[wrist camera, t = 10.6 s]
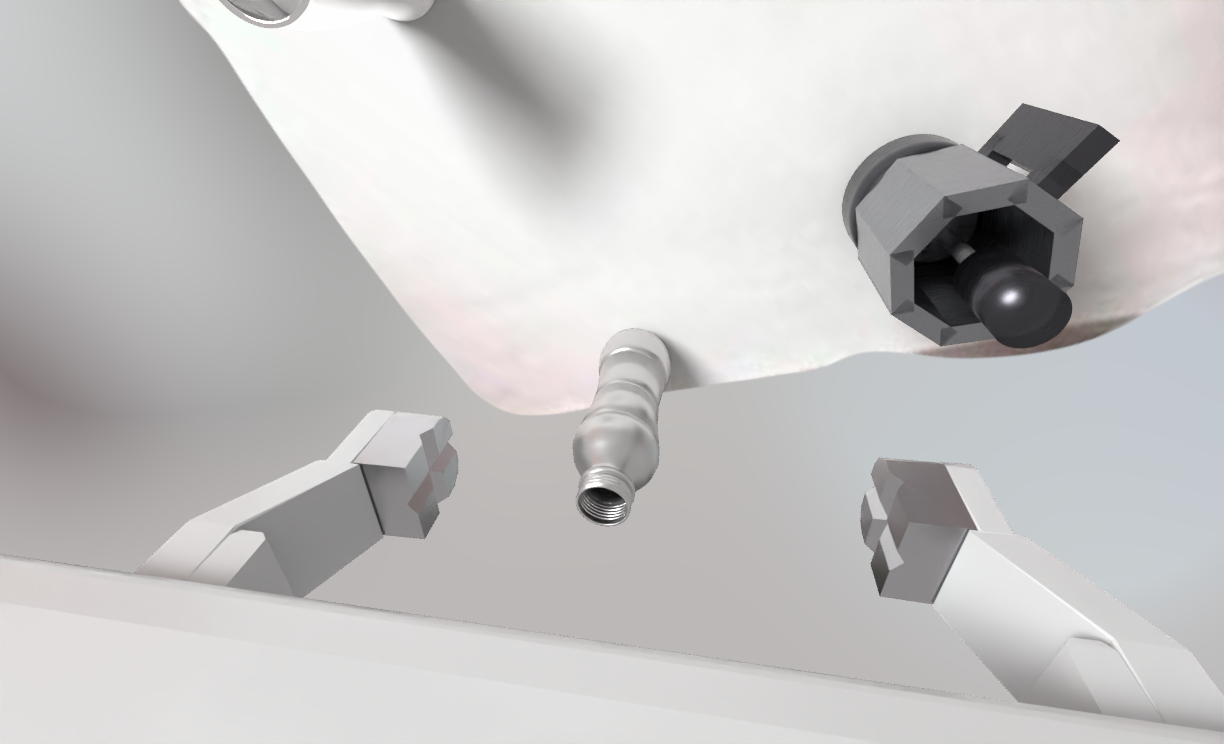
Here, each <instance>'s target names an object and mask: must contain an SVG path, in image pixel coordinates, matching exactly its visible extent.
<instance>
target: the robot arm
mask: <svg viewBox="0 0 1224 744" xmlns="http://www.w3.org/2000/svg"><path fill="white" fill-rule="evenodd" d="M452 434H453V433H452V429H451V425H450V421H449V420H448V419H447V418H445V417H440V416H432V415H423V414H415V413H406V412H395V411H385V410H374V411H371V412H369V413H368V414H367V415H366V416H365V417H364V419H363V420H362V421H361V422H360V423H359V424H358V425H357V426H356V427H355V429H354V430H353V431H352V432H351V433H350V434H349V436H348V437H347V438H346V439H345V440H344V441H343V442H342V443H341V444H340V445H339V447H338V448H337V449H336V450H335V451H334V452H333V453H332V454H331V455H330V457H329V458H328V459H327V460H326V461H325V460H317V461H315V462H313V463H311V464H309V465H307V466H305V467H302V468H300V469H298V470H296V471H294V472H292V473H290V474H287V475H285V476H283V477H281V478H279V479H277V480H275V481H273V482H270V483H268V484H266V485H264V486H262V487H260V488H258V489H256V490H254V491H251V492H249V493H247V494H245V495H243V496H241V497H238V498H236V499H234V500H232V501H230V502H228V503H226V504H223V505H221V506H219V507H217V508H215V509H213V510H211V511H209V512H206V513H204V514H202V515H200V516H198V517H196V518H193V519H191V520H189V521H188V522H187V523H186V524H185V525H184V526H183V527H182V528H180V529H179V530H178V532H176V533H175V534H174V535H173V536H172V537H171V538H170V539H169V540H168V541H167V542H166V543H165V544H164V545H163V546H161V547H160V548H159V549H158V550H157V551H156V552H155V553H154V554H153V555H152V556H151V557H150V558H149V559H148V560H147V561H146V562H145V563H144V564H143V565H141V566H140V567H139V568H138V569H137V570H136V571H135V572H134V573H129V572H121V571H115V570H108V569H101V568H94V567H88V566H80V565H73V564H67V563H60V562H53V561H46V560H39V559H32V558H25V557H19V556H12V555H5V554H0V744H1224V697H1223V695H1222V694H1221V692H1220V691H1219V690H1218V689H1217V687H1216V686H1215V684H1214V683H1213V682H1212V680H1211V679H1210V678H1209V676H1208V675H1207V674H1206V672H1205V671H1204V670H1203V668H1202V667H1201V666H1200V664H1199V663H1198V662H1197V660H1196V659H1195V658H1194V656H1193V655H1192V653H1191V652H1190V651H1189V650H1188V649H1186V648H1185V647H1183V646H1182V645H1180V644H1179V643H1178V642H1176V641H1175V640H1173V639H1172V638H1170V637H1169V636H1167V635H1166V634H1165V633H1163V632H1162V631H1160V630H1159V629H1157V628H1156V627H1155V626H1153V625H1152V624H1150V623H1149V622H1148V621H1146V620H1145V619H1143V618H1142V617H1140V616H1139V615H1138V614H1136V613H1135V612H1133V611H1132V610H1130V609H1129V608H1127V607H1126V606H1125V605H1123V604H1122V603H1120V602H1119V601H1117V600H1116V599H1115V598H1113V597H1112V596H1110V595H1109V594H1107V593H1106V592H1105V591H1103V590H1102V589H1100V588H1099V587H1097V586H1096V585H1095V584H1093V583H1092V582H1090V581H1089V580H1087V579H1086V578H1085V577H1083V576H1082V575H1080V574H1079V573H1077V572H1076V571H1074V570H1073V569H1072V568H1070V567H1069V566H1067V565H1066V564H1064V563H1063V562H1062V561H1060V560H1059V559H1057V558H1056V557H1054V556H1053V555H1052V554H1050V553H1049V552H1047V551H1046V550H1044V549H1043V548H1042V547H1040V546H1039V545H1037V544H1036V543H1034V542H1033V541H1032V540H1030V539H1028V538H1027V537H1026V536H1021V535H1015V534H1014V532H1013V530H1012V529H1011V527H1010V525H1009V524H1008V522H1007V520H1006V518H1005V517H1004V515H1003V513H1002V512H1001V510H1000V508H999V507H998V505H997V503H996V501H995V500H994V498H993V496H992V494H991V493H990V491H989V489H988V488H987V486H986V484H985V483H984V481H983V479H982V477H981V476H980V474H979V472H978V471H977V469H976V468H975V467H973V466H972V465H971V464H959V463H945V462H939V463H935V462H924V461H913V460H901V459H890V458H878V460H877V461H876V463H875V465H874V467H873V470H872V473H871V475H872V478H873V481H874V485H875V486H874V487H872V488H871V489H869V490H868V491H867V492H866V493H865V495H864V499H863V502H862V506H861V520H860V521H861V529H862V535H863V539H864V543H865V544H866V545H867V546H868V547H869V548H870V549H871V550H872V551H873V552H874V556H873V559H872V562H871V567H872V570H873V574H874V578H875V581H876V585H877V588H878V592H879V595H880V596H882V597H888V598H895V599H902V600H908V601H915V602H922V603H928V604H933V606H932V607H933V608H934V609H935V610H936V611H937V612H938V614H939V615H940V616H941V617H942V618H943V619H944V620H945V621H946V622H947V623H948V625H949V626H950V627H951V628H952V629H953V630H954V631H955V632H956V633H957V635H958V636H959V637H960V638H961V639H962V640H963V641H964V642H965V643H966V645H967V646H968V647H969V648H970V649H971V650H972V651H973V652H974V653H975V655H976V656H977V657H978V658H979V659H980V660H981V661H982V662H983V663H984V664H985V665H986V667H987V668H988V669H989V670H990V671H991V672H992V673H993V674H994V676H995V677H996V678H997V679H998V680H999V681H1000V682H1001V683H1002V684H1003V686H1004V687H1005V688H1006V689H1007V690H1008V691H1009V692H1010V693H1011V694H1012V696H1013V697H1014V698H1015V699H1016V700H1017V701H1018V702H1013V701H1006V700H999V699H992V698H985V697H979V696H971V695H965V694H958V693H951V692H945V691H937V690H931V689H924V688H917V687H910V686H903V685H897V684H890V683H883V682H876V681H869V680H862V679H856V678H849V677H842V676H835V675H828V674H821V673H815V672H807V671H801V670H793V669H787V668H780V667H773V666H767V665H759V664H753V663H746V662H739V661H732V660H725V659H719V658H711V657H704V656H698V655H691V654H684V653H677V652H670V651H663V650H657V649H650V648H643V647H636V646H629V645H622V644H616V643H609V642H601V641H595V640H588V639H582V638H575V637H568V636H561V635H554V634H547V633H540V632H533V631H527V630H520V629H513V628H506V627H499V626H493V625H486V624H478V623H472V622H465V621H458V620H451V619H444V618H438V617H431V616H423V615H417V614H410V613H403V612H397V611H390V610H383V609H375V608H369V607H362V606H355V605H349V604H341V603H335V602H328V601H321V600H314V599H307V598H303V597H304V596H306V595H307V594H308V593H310V592H311V591H312V590H314V589H315V588H316V587H318V586H319V585H320V584H322V583H323V582H324V581H326V580H327V579H328V578H330V577H331V576H332V575H334V574H335V573H336V572H338V571H339V570H340V569H342V568H343V567H344V566H346V565H347V564H348V563H350V562H351V561H352V560H354V559H355V558H356V557H358V556H359V555H360V554H362V553H363V552H364V551H366V550H367V549H368V548H370V547H371V546H372V545H374V544H375V543H376V542H378V541H379V540H380V539H382V538H383V535H388V536H389V535H390V536H399V537H409V538H419V539H425V538H426V536H427V534H428V533H429V531H430V529H431V527H432V525H433V524H434V522H435V520H436V518H437V517H438V515H439V509H438V505H437V503H439V502H441V501H442V500H444V499H445V498H447V497H449V495H450V493H451V491H452V489H453V488H454V486H455V482H456V478H457V474H458V457H457V452H456V450H455V449H454V448H453V447H452V446H451V445H450V444H449V443H448V440H449V439H450V437H451V436H452Z"/></svg>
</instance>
